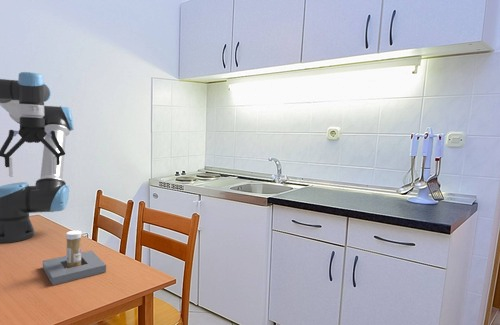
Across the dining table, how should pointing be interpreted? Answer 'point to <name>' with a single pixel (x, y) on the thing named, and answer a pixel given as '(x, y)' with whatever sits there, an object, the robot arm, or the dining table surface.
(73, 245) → the sprinkles bottle
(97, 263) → the socket plate
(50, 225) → the dining table surface
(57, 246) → the dining table surface
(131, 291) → the dining table surface
